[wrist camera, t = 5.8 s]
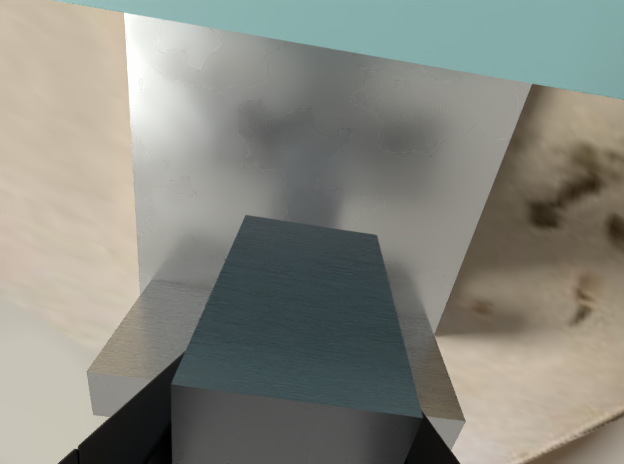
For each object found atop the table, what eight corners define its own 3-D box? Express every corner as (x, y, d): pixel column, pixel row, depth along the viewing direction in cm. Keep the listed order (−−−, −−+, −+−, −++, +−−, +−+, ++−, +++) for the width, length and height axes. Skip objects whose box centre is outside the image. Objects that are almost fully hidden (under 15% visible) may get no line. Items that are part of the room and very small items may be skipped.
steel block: (376, 235, 10) (422, 418, 5) (341, 369, 13) (351, 584, 8) (245, 214, 10) (170, 384, 5) (233, 355, 12) (173, 564, 8)
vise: (585, -108, 11) (836, -245, 6) (420, 336, 19) (460, 461, 13) (132, -198, 11) (-74, -447, 5) (152, 298, 18) (77, 412, 13)
